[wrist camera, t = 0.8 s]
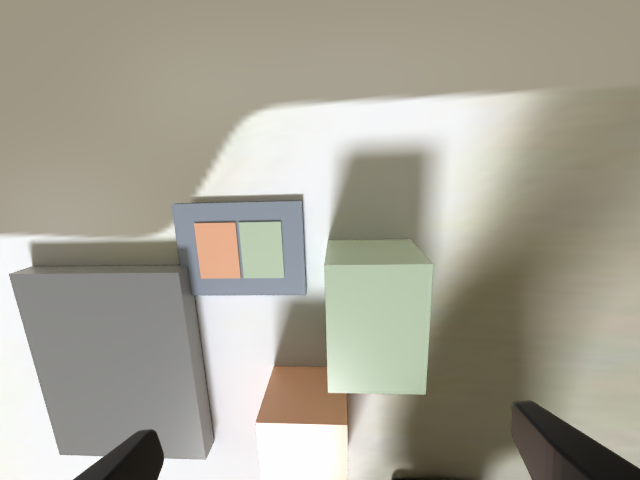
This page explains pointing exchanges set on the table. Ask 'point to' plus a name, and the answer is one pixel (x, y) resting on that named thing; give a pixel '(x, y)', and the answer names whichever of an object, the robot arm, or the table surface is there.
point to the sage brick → (377, 316)
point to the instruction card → (242, 247)
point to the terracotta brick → (302, 427)
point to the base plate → (117, 356)
